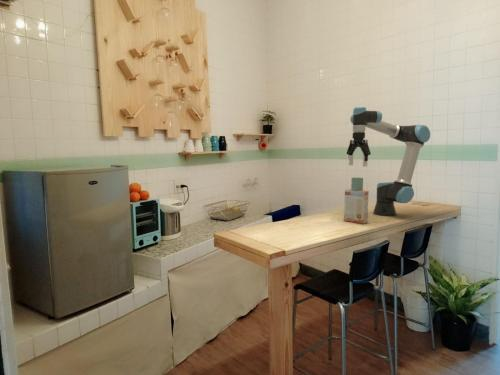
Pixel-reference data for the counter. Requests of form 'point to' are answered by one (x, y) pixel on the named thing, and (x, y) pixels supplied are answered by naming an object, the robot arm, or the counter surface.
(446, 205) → the counter surface
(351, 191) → the cracker box
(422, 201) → the counter surface
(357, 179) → the teal block
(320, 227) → the counter surface
